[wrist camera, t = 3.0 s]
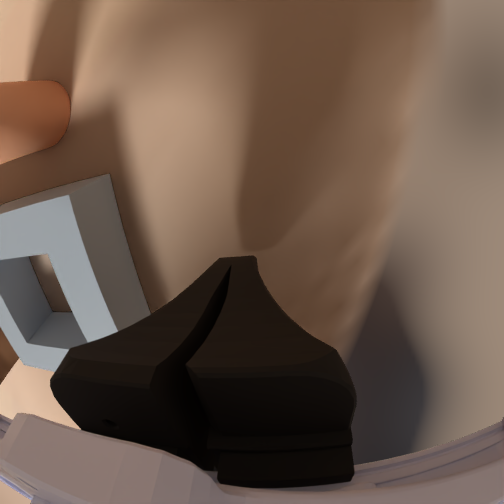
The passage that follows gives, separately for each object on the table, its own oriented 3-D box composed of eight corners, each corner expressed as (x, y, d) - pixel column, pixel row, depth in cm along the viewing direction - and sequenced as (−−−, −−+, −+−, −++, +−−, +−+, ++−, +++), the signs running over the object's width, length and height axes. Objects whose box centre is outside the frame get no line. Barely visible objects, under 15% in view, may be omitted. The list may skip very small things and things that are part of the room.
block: (161, 342, 15) (145, 384, 12) (45, 335, 16) (24, 364, 13) (109, 173, 11) (68, 194, 8) (-8, 208, 12) (-43, 229, 9)
